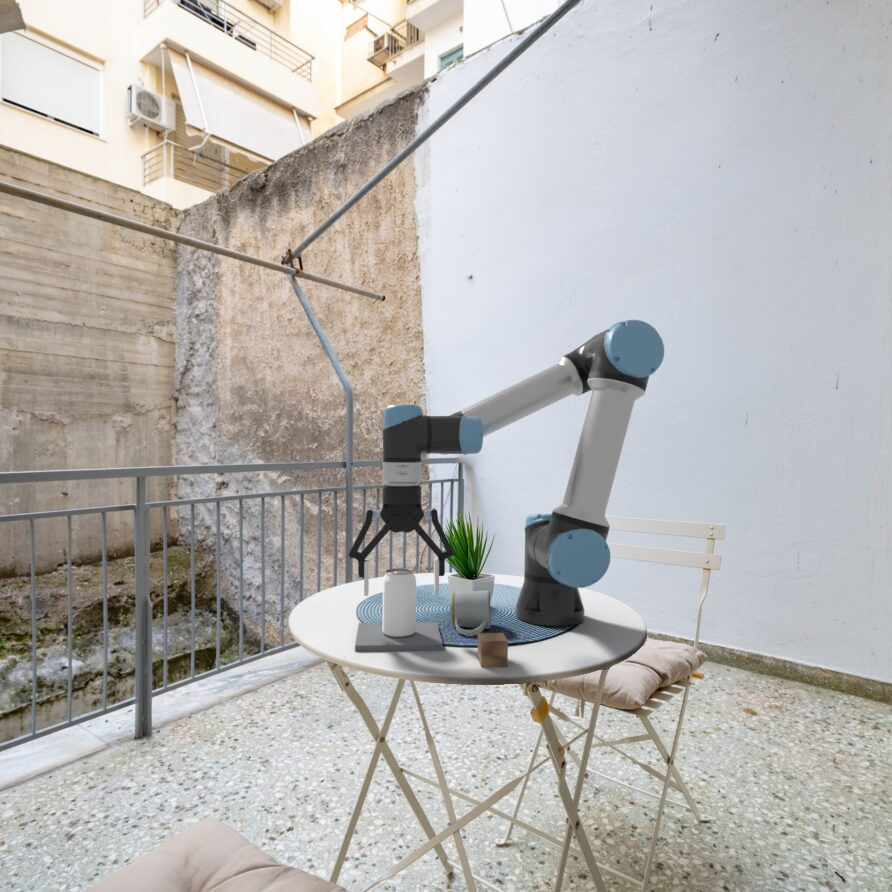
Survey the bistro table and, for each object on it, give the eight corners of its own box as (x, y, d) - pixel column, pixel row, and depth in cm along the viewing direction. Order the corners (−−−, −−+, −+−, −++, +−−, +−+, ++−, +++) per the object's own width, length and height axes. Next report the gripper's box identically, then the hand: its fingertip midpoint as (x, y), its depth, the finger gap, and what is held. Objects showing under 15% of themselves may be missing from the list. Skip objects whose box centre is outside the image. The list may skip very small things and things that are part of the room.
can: (409, 626, 118) (410, 567, 118) (420, 636, 112) (421, 573, 112) (378, 630, 115) (379, 569, 115) (387, 639, 109) (388, 575, 109)
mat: (436, 627, 121) (436, 622, 121) (442, 650, 107) (443, 644, 107) (358, 627, 120) (358, 622, 120) (354, 651, 106) (355, 645, 106)
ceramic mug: (452, 620, 126) (453, 585, 126) (490, 622, 125) (491, 586, 125) (448, 637, 116) (449, 598, 116) (489, 639, 115) (490, 600, 115)
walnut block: (502, 658, 104) (502, 632, 104) (507, 667, 100) (507, 640, 100) (477, 658, 104) (477, 633, 104) (481, 667, 99) (481, 641, 99)
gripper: (335, 485, 109) (334, 599, 109) (468, 485, 111) (467, 596, 111) (338, 483, 116) (338, 590, 116) (463, 483, 119) (462, 587, 119)
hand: (401, 593), depth 114 cm, fingers open, 13 cm apart
